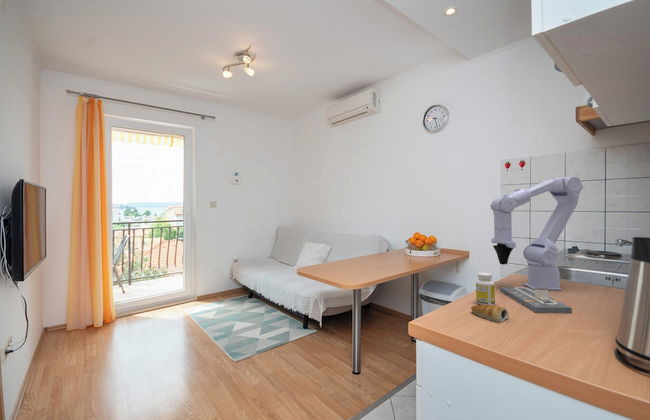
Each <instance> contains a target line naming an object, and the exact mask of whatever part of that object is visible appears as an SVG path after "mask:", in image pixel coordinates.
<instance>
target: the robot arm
mask: <svg viewBox="0 0 650 420" xmlns="http://www.w3.org/2000/svg"><path fill="white" fill-rule="evenodd" d="M583 189H584V185H583V183H582V181H581V179H580V178H579V177H578V176H576V175H569V176H561V177H552V178H549V179H546V180H544V181H541V182H540V183H538V184H535V185H533V186H530V188H527V189H525V188H518V187H517V188H515V189H514V191H513V192H509V193H504V194H503V196H501V197H495V198H494V199H493V200H492V201H491V203H490V209H491V210H492V212H493V213H492V214H493V225H494V227H493V228H494V229H493V231H494V232H493V235H494V236H493V237H492V238H491V240H490V241H491V243H492V244H494V245H493V246H492V247H493V249H494V250H495V253H496V255H497V259H498V263H499V264H500V265H508V261H509V258H510V255H511V253H512V251H513V250H514V249H515V248H517V245H516V243H517V242H515V241H513V240H512V239H513V235H512V231H513V230H512V226H513V225H512V212H513V211H514V210H515V208H517V207H520V206H523V205H525V204H527V203H530V201H531V198H533V197H537V196H538V195H541V194H544V193H547V192H549V193H550V195H551V196H552V197H553V199H554V200H555V201H556V202H557V205H556V206H555V208H554V210H553V212H552V213H551V214H550V217H548V221H547V222H546V223H545V226H544V228H543V229H542V231H541V233H540V234H539V236H538V237H537V238H536V239H534V240H532V241H530V243H529V245H527V246H525V247H524V249H523V252H522V253H523V258H524V259H525V260H526V263H527V282H524V283H523V286H526V287H529V288H531V289H534V290H535V287H546V288H548V289H549V290H548V291H551V290H554V291H558V290H559V291H561V290H562V288H561V281H560V280H561V273H560V269H559V267H558V266H557V265H556V264H554V263H555V262H556V261H557V260H556V259H557V253H558V251H559V249H558V247H557V246H556V243H557V241H558V239H559V238H560V236H561V234H562V232H563V230H564V228H565V227H566V225H567V223H568V222H569V219H570V218H571V216H572V215H573V213H574V211H575V209H576V207H577V206H578V204H579V198H580V194H581V192H582V190H583ZM495 244H496V245H495Z"/></svg>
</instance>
